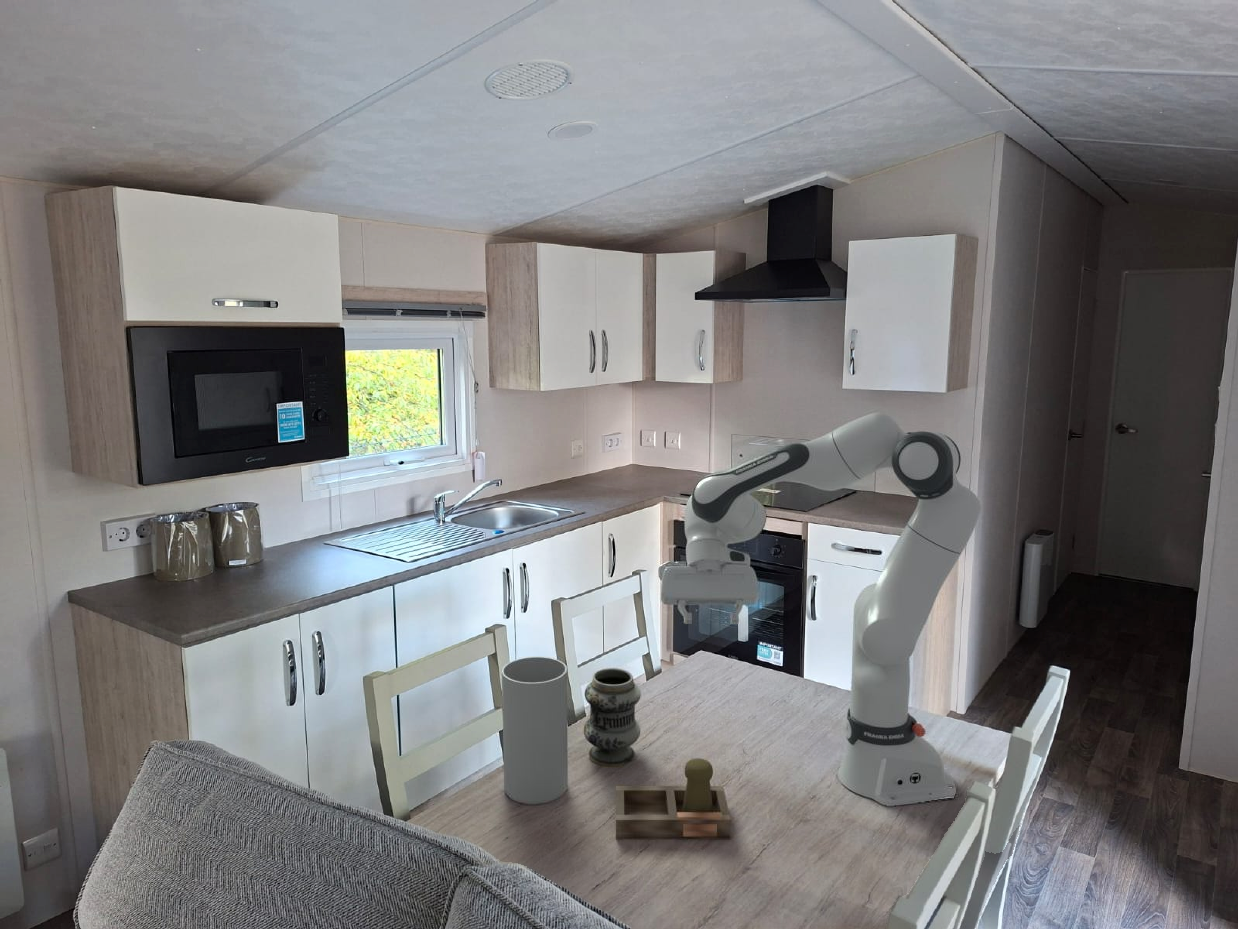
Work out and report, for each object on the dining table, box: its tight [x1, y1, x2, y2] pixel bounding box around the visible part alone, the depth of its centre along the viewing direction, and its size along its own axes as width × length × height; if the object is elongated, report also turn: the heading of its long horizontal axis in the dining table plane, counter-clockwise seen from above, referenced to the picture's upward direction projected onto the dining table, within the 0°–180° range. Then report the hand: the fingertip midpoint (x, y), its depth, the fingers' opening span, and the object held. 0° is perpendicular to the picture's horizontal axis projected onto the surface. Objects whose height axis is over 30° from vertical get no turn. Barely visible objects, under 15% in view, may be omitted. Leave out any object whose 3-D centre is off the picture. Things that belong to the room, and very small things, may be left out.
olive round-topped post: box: [682, 757, 714, 812], centre depth 157 cm, size 6×6×11 cm
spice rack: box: [615, 785, 732, 840], centre depth 157 cm, size 20×11×4 cm, turn 90°
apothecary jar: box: [583, 667, 642, 767], centre depth 180 cm, size 12×12×18 cm
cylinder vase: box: [501, 656, 569, 805], centre depth 166 cm, size 12×12×25 cm
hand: (711, 622), depth 171 cm, fingers open, 8 cm apart
